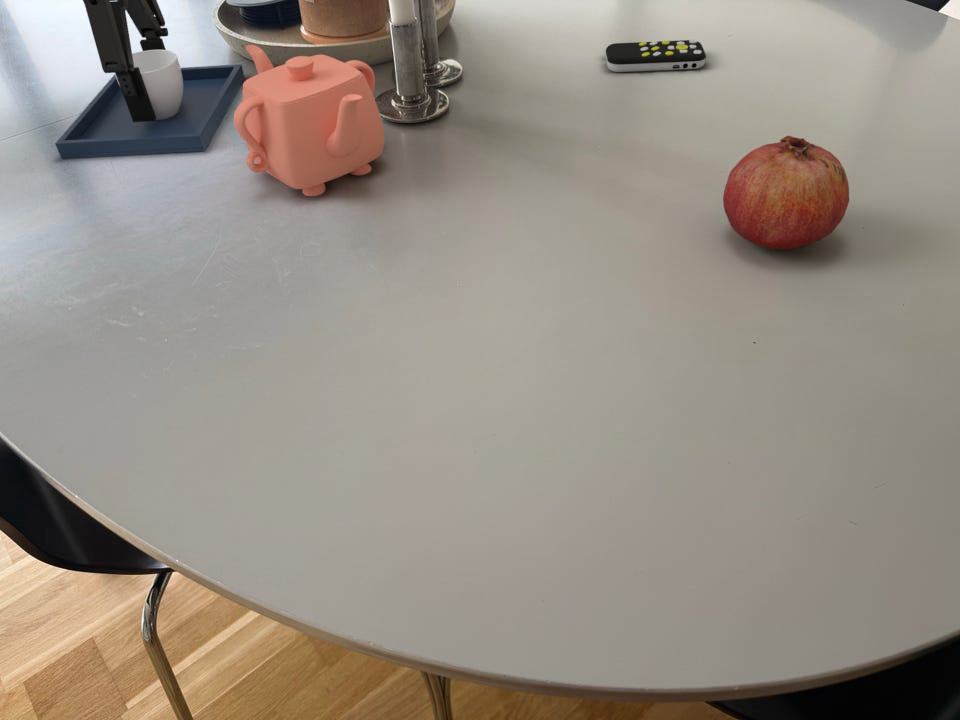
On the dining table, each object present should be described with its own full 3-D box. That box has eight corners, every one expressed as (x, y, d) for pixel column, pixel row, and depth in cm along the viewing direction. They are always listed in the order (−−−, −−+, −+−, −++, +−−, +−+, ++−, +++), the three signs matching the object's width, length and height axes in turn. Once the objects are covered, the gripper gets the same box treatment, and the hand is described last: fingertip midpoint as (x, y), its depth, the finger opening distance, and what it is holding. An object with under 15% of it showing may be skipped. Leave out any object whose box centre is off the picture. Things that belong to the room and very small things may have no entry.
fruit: (840, 220, 78) (867, 122, 72) (832, 279, 71) (860, 177, 65) (727, 204, 82) (742, 109, 75) (708, 258, 75) (723, 159, 68)
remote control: (604, 55, 112) (605, 41, 110) (699, 51, 111) (700, 36, 109) (607, 74, 107) (608, 59, 106) (706, 70, 106) (708, 54, 105)
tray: (204, 151, 98) (199, 135, 96) (61, 158, 99) (54, 143, 97) (245, 78, 114) (241, 64, 112) (122, 85, 115) (116, 71, 113)
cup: (142, 132, 101) (123, 79, 97) (118, 106, 108) (99, 56, 103) (201, 113, 105) (185, 61, 100) (174, 89, 111) (158, 39, 106)
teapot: (378, 206, 86) (359, 89, 77) (228, 204, 88) (193, 91, 79) (404, 139, 97) (390, 31, 88) (270, 139, 99) (244, 34, 90)
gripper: (86, -67, 82) (159, 141, 97) (152, -116, 98) (206, 69, 113) (14, -62, 82) (98, 144, 97) (91, -112, 98) (153, 72, 113)
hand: (156, 104), depth 105 cm, fingers closed on cup, 9 cm apart
